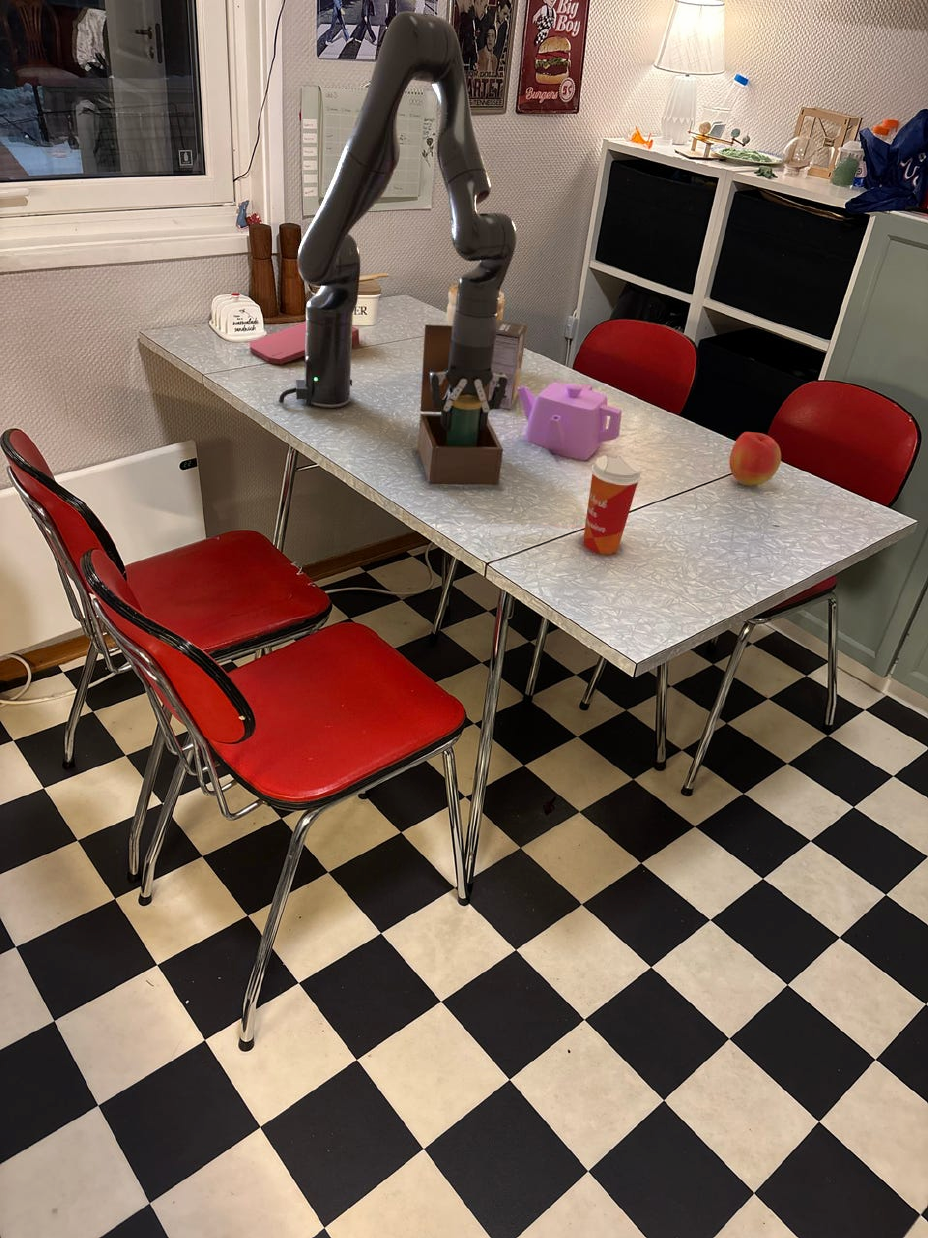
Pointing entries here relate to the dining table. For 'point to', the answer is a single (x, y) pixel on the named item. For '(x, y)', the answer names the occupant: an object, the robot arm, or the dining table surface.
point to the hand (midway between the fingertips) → (462, 428)
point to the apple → (754, 458)
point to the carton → (287, 344)
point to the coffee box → (508, 358)
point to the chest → (458, 455)
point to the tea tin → (464, 421)
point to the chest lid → (436, 363)
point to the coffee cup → (609, 502)
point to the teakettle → (569, 419)
